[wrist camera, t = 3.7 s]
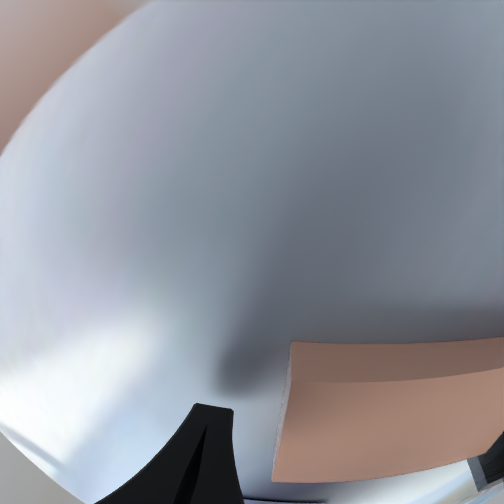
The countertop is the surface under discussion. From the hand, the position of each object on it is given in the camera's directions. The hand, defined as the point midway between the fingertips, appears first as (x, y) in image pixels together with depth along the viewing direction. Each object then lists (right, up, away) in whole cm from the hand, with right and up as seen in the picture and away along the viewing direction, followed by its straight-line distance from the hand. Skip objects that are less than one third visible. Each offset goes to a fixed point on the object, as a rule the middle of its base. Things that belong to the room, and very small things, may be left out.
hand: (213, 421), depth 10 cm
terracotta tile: (+9, 0, +1) cm, 9 cm away
